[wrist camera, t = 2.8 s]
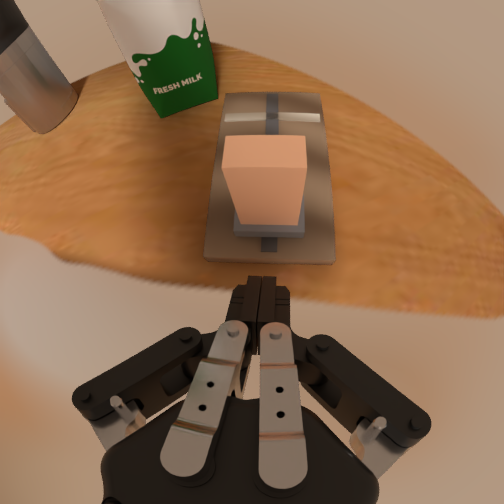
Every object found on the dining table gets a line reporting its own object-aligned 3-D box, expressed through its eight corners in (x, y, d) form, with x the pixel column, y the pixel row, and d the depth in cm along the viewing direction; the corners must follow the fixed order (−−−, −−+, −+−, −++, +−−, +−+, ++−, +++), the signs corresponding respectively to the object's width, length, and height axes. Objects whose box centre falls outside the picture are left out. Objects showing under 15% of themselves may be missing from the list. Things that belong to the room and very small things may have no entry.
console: (331, 264, 21) (336, 259, 20) (207, 261, 22) (202, 255, 21) (318, 103, 26) (319, 92, 25) (227, 103, 27) (225, 92, 26)
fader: (303, 237, 20) (318, 177, 12) (235, 236, 21) (209, 176, 12) (302, 201, 21) (314, 128, 13) (238, 200, 21) (217, 129, 13)
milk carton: (154, 127, 27) (76, -18, 8) (149, 85, 30) (94, -31, 11) (228, 101, 27) (190, -62, 8) (211, 64, 30) (178, -62, 11)
